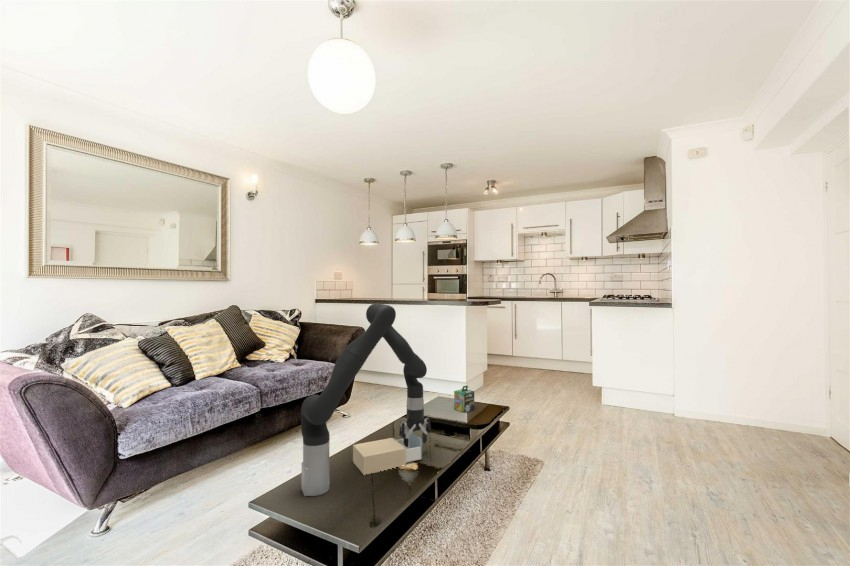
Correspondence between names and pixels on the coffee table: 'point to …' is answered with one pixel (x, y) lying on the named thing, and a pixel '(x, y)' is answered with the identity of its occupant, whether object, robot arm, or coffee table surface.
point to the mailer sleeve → (378, 455)
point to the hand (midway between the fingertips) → (415, 444)
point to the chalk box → (464, 400)
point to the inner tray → (412, 447)
